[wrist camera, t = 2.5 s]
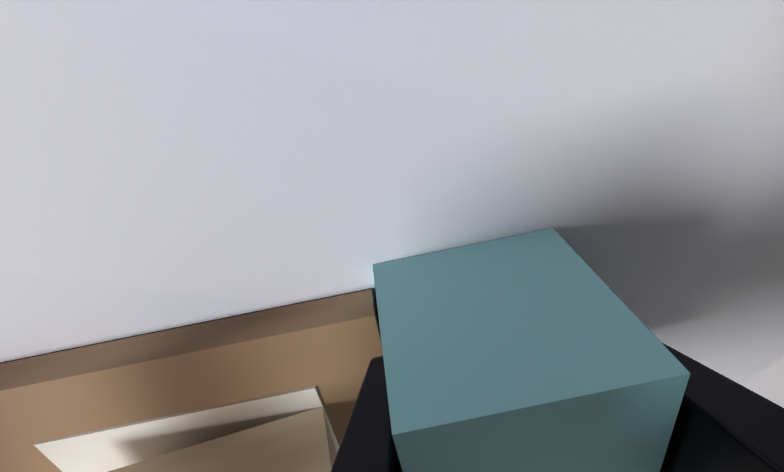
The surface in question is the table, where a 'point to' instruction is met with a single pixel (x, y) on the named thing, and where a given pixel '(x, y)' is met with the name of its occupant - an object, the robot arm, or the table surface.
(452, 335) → the teal block
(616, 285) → the table surface
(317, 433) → the beech block
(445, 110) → the table surface
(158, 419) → the walnut board
